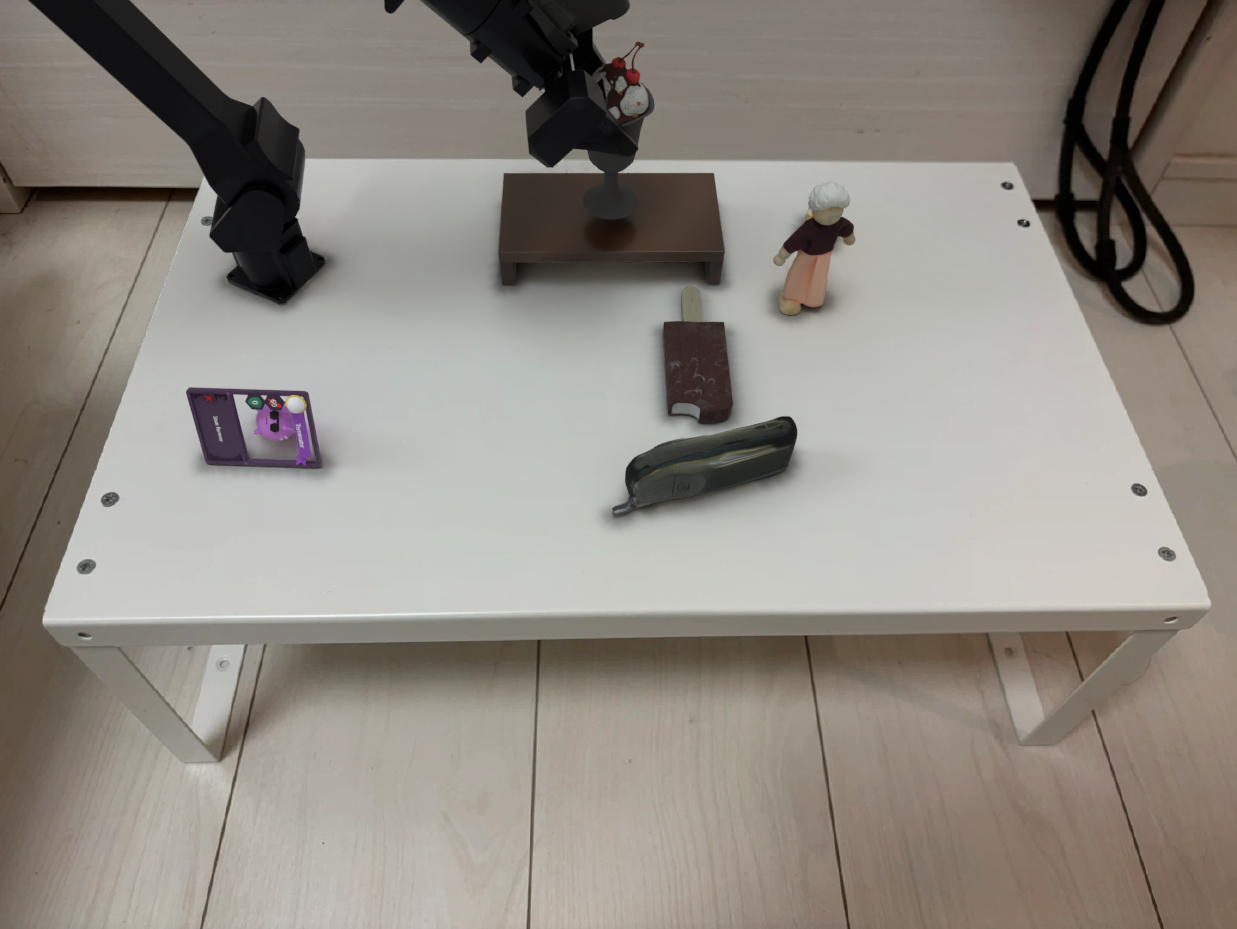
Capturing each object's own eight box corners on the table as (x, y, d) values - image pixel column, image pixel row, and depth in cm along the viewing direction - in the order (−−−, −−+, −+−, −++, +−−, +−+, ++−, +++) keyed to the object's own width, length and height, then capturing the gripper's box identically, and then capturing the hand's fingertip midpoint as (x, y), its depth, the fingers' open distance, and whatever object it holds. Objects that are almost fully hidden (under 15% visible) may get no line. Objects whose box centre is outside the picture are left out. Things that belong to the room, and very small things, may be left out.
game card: (181, 394, 68) (303, 398, 68) (208, 360, 72) (323, 364, 72) (202, 469, 72) (318, 473, 72) (226, 432, 76) (336, 436, 76)
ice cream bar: (660, 293, 84) (667, 424, 76) (661, 280, 83) (669, 411, 74) (718, 294, 85) (732, 424, 76) (720, 280, 83) (734, 411, 75)
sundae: (663, 205, 83) (676, 46, 71) (605, 236, 80) (608, 77, 68) (616, 168, 86) (621, 10, 74) (558, 197, 83) (554, 38, 71)
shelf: (501, 285, 85) (498, 252, 81) (507, 206, 91) (503, 172, 88) (719, 284, 85) (724, 251, 82) (709, 206, 92) (714, 172, 88)
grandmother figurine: (785, 329, 82) (812, 215, 72) (758, 302, 84) (781, 188, 74) (850, 296, 85) (886, 181, 74) (823, 271, 87) (854, 156, 76)
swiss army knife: (789, 405, 71) (605, 455, 68) (807, 435, 69) (619, 487, 66) (777, 444, 75) (603, 493, 72) (794, 473, 73) (616, 524, 70)
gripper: (573, -14, 57) (726, 132, 68) (550, -146, 68) (685, -2, 78) (459, 105, 63) (615, 224, 73) (454, -34, 74) (591, 86, 84)
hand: (629, 127), depth 77 cm, fingers closed on sundae, 6 cm apart
